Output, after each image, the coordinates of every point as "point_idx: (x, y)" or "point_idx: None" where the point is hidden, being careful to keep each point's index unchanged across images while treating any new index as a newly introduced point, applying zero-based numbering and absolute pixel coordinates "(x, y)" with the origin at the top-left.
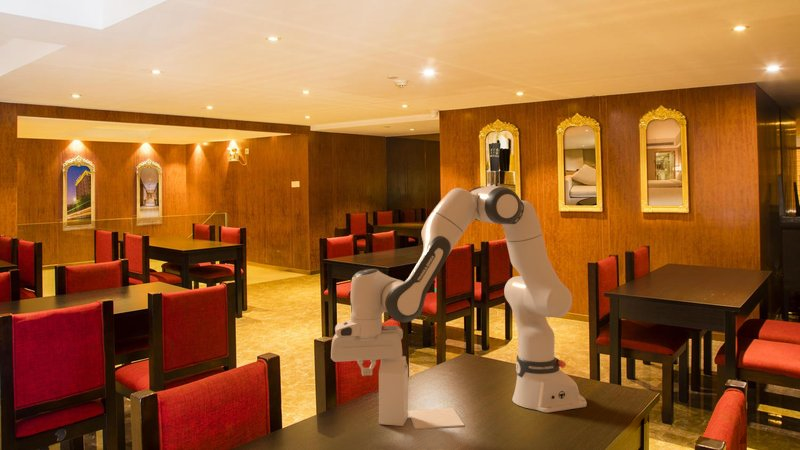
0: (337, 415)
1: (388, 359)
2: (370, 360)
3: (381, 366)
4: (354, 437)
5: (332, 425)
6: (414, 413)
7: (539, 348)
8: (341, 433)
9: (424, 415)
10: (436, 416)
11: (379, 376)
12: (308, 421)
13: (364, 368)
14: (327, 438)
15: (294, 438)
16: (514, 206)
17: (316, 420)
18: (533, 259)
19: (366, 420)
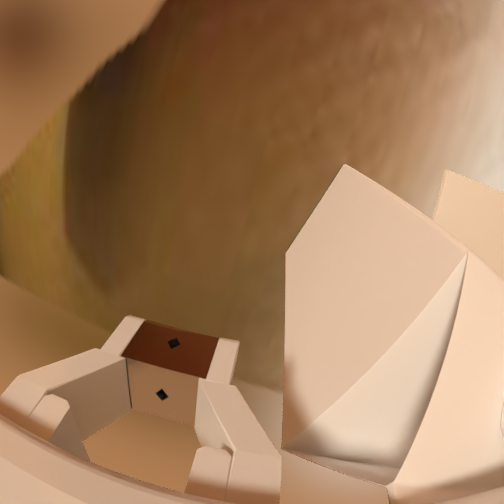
0: (138, 99)
1: (448, 492)
2: (195, 457)
3: (330, 466)
4: (170, 321)
5: (107, 198)
6: (456, 212)
7: None
8: (132, 277)
9: (474, 246)
10: (497, 269)
11: (287, 422)
12: (42, 140)
13: (133, 383)
14: (92, 295)
15: (18, 259)
16: None
17: (63, 135)
18: None
19: (246, 191)
